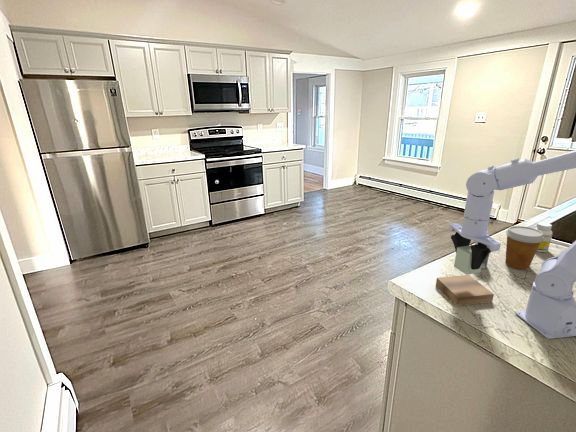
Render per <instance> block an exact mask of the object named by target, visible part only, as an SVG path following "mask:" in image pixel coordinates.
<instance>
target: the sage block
mask: <svg viewBox="0 0 576 432" xmlns="http://www.w3.org/2000/svg"><path fill="white" fill-rule="evenodd" d="M471 245H472V244H469V245H468V246H462V247H457V251H455V258H454V263H453V264H454V265H453V267H454V268H455V269H457V270H458V271H460V272H461V273H463V275H473V274H479V273H481V272H482V269H483V268H482V265H481V266H480V268H479V269H475V270H473V269H471V261H472V251H471V247H470V246H471Z"/></svg>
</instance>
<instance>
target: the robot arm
mask: <svg viewBox="0 0 576 432" xmlns="http://www.w3.org/2000/svg"><path fill="white" fill-rule="evenodd" d="M574 169H576V149H575V150H571V151H568V152H565V153H562V154H558V155H554V156H550V157H548V158H544V159H540V160H537V161H534V160H533V161H532V160H530V159H527V158H522V159H520V158H519V157H516V158H513V159H511V160H510V162H509V163H505V164H504V163H503V164H502V165H498V166H494V165H491V166H488V167H487V169H481V170H479V171H477V172H475V173H473V174H471V175H470V176H469V177H468V178H467V180H466V182H465V187H466V190H467V197H466V201H465V206H464V212H463V218H462V224H459V223H456V222H455V223H450V224H449V229H448V230H449V231H451V232H455V234H452V235H450V239H451V241H452V243H453V246H454V249H455V252H456V251H457V247H462V246H468V245H471V246H470V247H471V251H472V261H471V269H473V270H475V269H479V268H480V266H481V265H482V263H483V261H484V260H485V258H486V257H487V256H488V255H489V256H490V254H491V252H499V251H500V249H501V245H502V243H500V242H499V241H497V240H495V239H494V238H493V237H491V235H489V231H488V230H489V229H488V228H489V222H490V217H491V213H492V208H493V203H494V201H493V199H494V194H495V191H503V190H509V189H513V188H517V187H521V186H522V187H523V186H525V185H530V184H533V183H534V182H535V181H536V180H537V178H538V177H539V176H544V175H549V174H553V173H558V172H564V171H567V170H568V171H569V170H574ZM472 241H473V242H474V243H475V242H477V243H478V245H477V244H476V245H475V244H471V242H472ZM575 283H576V240H574V241H573V242H572V243H571V244H570V245H569V246H568V247H567V248H566V249H564V250H562V251H561V252H560V253H559V254H557V255H556V256H553V257H550V258H547V259H545V260H544V261H543V263H542V264H541V268H540V270H539V272H538V274H536V276H535V279H534V281H533V283H532V286H531V289H530V293H529V297H528V301H527V304H526V307H525V309H524V310H515V315H517V316H518V317H519V318H521V319H522V320H523V321H525V322H526V323H527V324H528V325H530V326H531V327H532V328H534V329H535V330H536V331H537V332H539V334H541V335H542V336H543V337H545V338H546V339H549V340H552V339H561V338H568V337H576V299H575V297H574V291H573V289H574V288H573V287H574V285H575Z"/></svg>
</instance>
